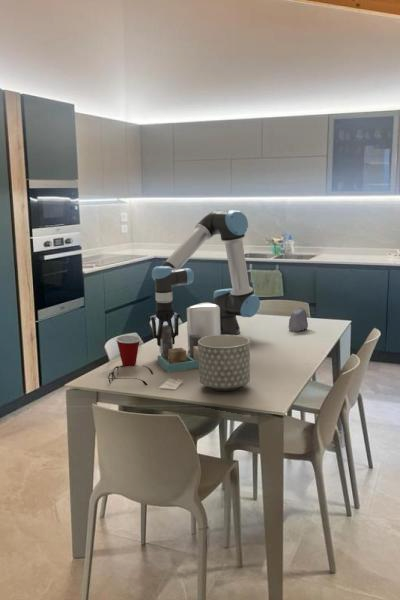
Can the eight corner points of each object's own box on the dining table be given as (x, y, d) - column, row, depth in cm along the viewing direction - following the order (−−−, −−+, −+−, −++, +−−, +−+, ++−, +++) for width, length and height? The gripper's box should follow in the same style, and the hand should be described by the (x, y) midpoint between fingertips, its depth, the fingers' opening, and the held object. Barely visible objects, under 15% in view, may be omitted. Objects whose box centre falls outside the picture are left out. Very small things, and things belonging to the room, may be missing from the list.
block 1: (171, 354, 262) (170, 324, 259) (186, 366, 242) (185, 334, 239) (158, 355, 260) (157, 325, 257) (173, 368, 240) (171, 336, 237)
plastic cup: (133, 369, 240) (132, 342, 238) (112, 367, 245) (110, 339, 243) (146, 362, 250) (145, 336, 248) (125, 360, 255) (124, 334, 252)
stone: (296, 329, 309) (312, 326, 303) (288, 337, 301) (305, 333, 295) (288, 310, 307) (304, 306, 301) (280, 316, 300) (296, 312, 293)
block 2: (200, 355, 258) (199, 334, 257) (211, 363, 245) (210, 341, 244) (187, 357, 256) (187, 335, 255) (198, 365, 243) (197, 342, 242)
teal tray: (208, 355, 258) (208, 349, 257) (221, 364, 244) (221, 357, 243) (157, 362, 250) (157, 355, 249) (167, 372, 236) (167, 365, 235)
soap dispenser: (205, 343, 279) (203, 299, 275) (229, 347, 271) (228, 301, 267) (186, 350, 267) (185, 304, 263) (211, 355, 259) (210, 307, 255)
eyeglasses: (117, 373, 237) (116, 364, 236) (154, 374, 235) (154, 364, 234) (106, 387, 221) (106, 377, 220) (147, 387, 219) (146, 377, 218)
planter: (192, 393, 209) (190, 345, 206) (209, 377, 227) (208, 333, 223) (241, 398, 202) (240, 349, 199) (256, 381, 220) (255, 336, 217)
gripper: (179, 298, 260) (181, 347, 265) (143, 301, 255) (145, 352, 259) (185, 300, 254) (186, 351, 258) (147, 304, 248) (150, 356, 252)
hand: (166, 351), depth 258 cm, fingers closed on block 1, 4 cm apart
